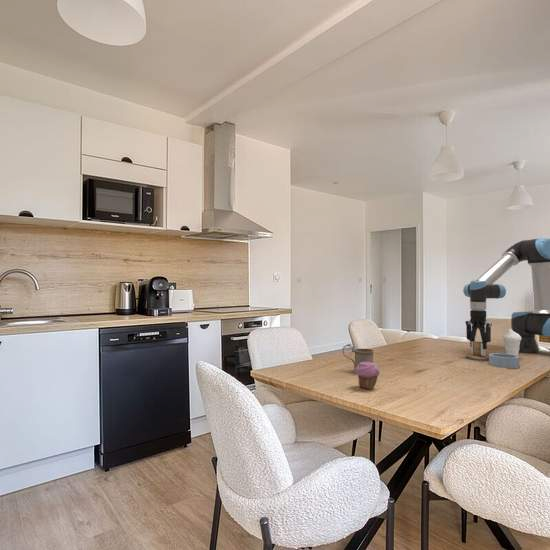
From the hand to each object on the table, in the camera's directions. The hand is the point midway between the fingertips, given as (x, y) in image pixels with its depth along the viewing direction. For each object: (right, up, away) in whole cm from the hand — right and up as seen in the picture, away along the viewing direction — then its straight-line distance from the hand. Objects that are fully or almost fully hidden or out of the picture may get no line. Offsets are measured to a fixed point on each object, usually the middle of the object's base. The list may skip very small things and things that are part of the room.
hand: (478, 354), depth 203 cm
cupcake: (-71, -1, -56) cm, 90 cm away
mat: (0, -2, 0) cm, 2 cm away
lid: (0, -2, 0) cm, 2 cm away
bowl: (+4, -2, -16) cm, 17 cm away
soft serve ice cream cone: (+18, -3, 0) cm, 18 cm away
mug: (-69, -2, -28) cm, 74 cm away
